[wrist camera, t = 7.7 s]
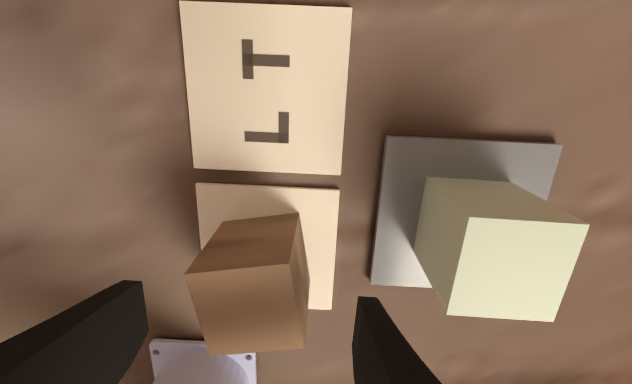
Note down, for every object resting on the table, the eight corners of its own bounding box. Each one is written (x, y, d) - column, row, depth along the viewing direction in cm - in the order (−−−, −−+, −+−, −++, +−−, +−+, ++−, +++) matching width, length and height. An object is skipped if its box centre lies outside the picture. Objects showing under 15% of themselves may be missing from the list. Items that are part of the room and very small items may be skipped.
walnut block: (310, 279, 22) (304, 348, 16) (239, 286, 22) (209, 356, 17) (299, 212, 20) (289, 263, 15) (222, 221, 21) (184, 274, 15)
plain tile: (331, 307, 23) (331, 309, 23) (207, 300, 23) (205, 303, 23) (339, 189, 20) (339, 190, 20) (197, 182, 20) (195, 183, 20)
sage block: (490, 255, 21) (553, 321, 15) (413, 250, 21) (446, 314, 15) (510, 181, 19) (589, 224, 13) (426, 176, 19) (469, 216, 13)
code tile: (340, 173, 20) (340, 175, 19) (195, 167, 20) (193, 168, 19) (351, 8, 17) (352, 7, 16) (181, 2, 17) (178, 0, 16)
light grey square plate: (514, 286, 22) (519, 292, 21) (369, 279, 22) (370, 284, 21) (556, 142, 19) (563, 144, 18) (385, 135, 19) (387, 136, 18)
